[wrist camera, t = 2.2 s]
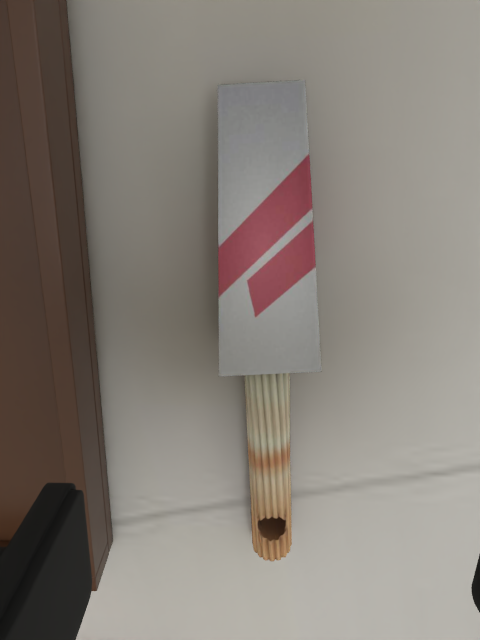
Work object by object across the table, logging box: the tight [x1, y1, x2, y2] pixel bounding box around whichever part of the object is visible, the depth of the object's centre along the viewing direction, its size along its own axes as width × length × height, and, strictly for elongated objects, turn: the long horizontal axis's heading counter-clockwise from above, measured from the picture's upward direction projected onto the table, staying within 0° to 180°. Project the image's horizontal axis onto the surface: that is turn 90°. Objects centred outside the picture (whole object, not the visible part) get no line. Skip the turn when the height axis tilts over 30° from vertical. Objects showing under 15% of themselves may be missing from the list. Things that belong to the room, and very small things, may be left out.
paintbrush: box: [218, 80, 322, 561], centre depth 18 cm, size 4×3×20 cm
